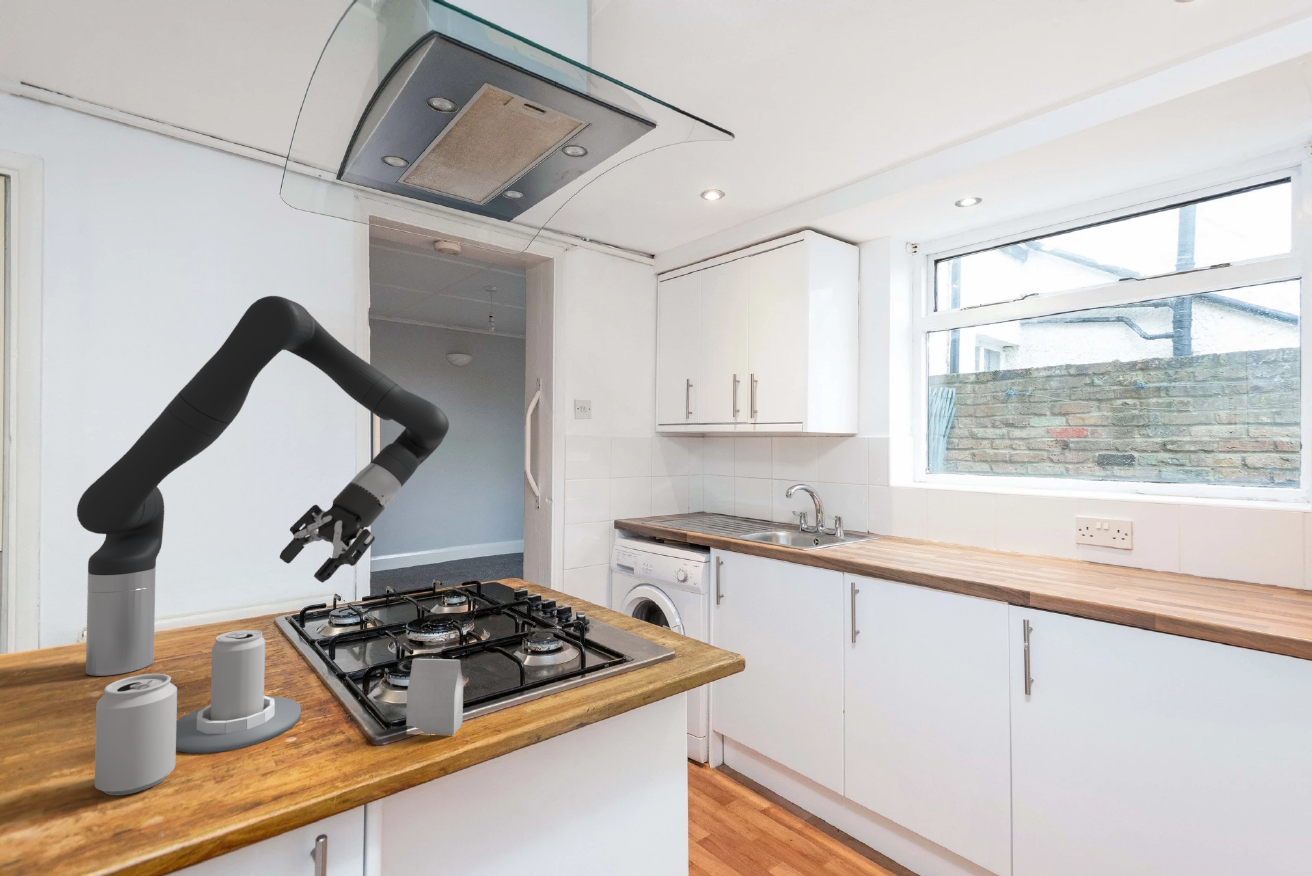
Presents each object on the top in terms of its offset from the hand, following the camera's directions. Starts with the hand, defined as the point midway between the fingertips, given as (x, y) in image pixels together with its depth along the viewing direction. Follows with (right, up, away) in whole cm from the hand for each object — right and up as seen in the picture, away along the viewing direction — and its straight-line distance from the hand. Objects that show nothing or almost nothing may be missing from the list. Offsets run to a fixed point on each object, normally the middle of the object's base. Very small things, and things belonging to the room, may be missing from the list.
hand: (300, 570), depth 105 cm
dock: (-1, -19, -14) cm, 24 cm away
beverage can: (-1, -19, -14) cm, 23 cm away
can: (-3, -19, -29) cm, 35 cm away
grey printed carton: (+27, -20, -14) cm, 37 cm away
